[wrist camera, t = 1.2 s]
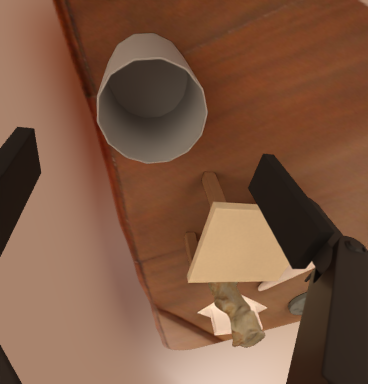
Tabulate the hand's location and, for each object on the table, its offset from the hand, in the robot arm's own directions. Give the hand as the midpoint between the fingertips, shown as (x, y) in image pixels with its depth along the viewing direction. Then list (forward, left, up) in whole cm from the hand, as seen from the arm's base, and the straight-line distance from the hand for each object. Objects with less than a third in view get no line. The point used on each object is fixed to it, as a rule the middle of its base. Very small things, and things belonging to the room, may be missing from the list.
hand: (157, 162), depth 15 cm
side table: (+18, +16, -16) cm, 29 cm away
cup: (0, 0, -16) cm, 16 cm away
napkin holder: (+51, +27, -16) cm, 60 cm away
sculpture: (+32, +18, -16) cm, 40 cm away
